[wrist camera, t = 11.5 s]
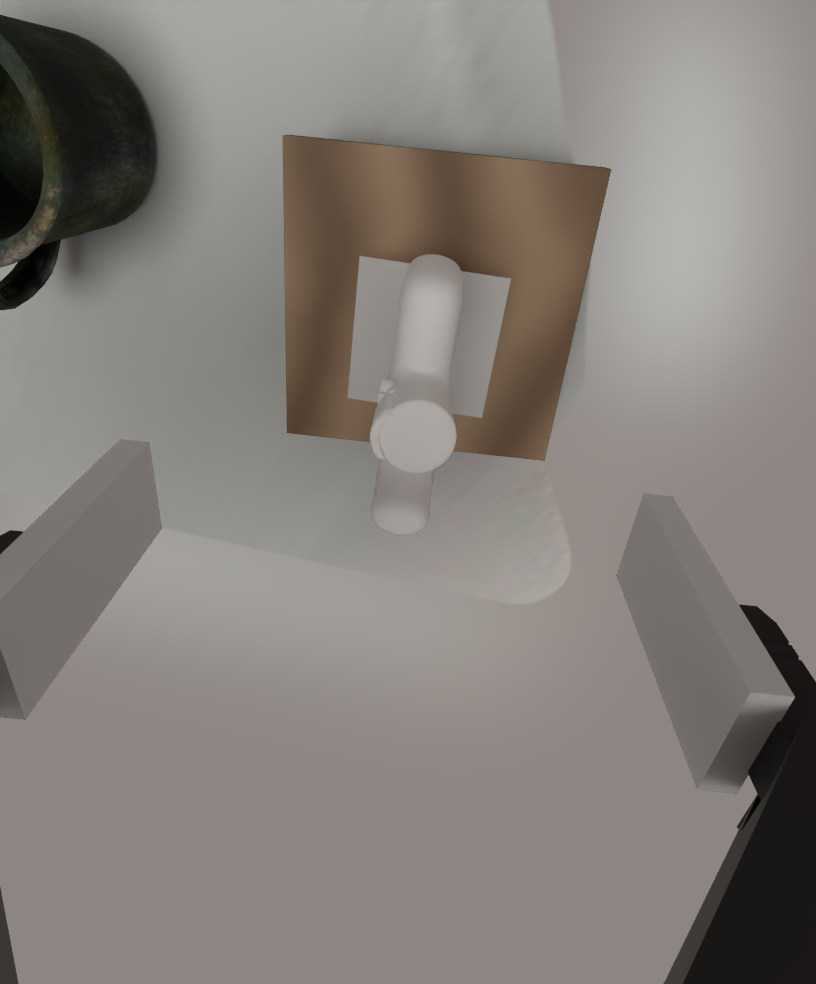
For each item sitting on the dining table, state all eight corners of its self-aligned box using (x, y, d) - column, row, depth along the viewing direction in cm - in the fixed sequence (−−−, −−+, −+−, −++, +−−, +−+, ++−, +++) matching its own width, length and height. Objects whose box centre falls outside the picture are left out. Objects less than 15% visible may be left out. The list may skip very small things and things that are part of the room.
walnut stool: (312, 386, 45) (287, 432, 38) (314, 133, 37) (282, 135, 30) (530, 409, 45) (544, 460, 38) (581, 161, 37) (611, 169, 30)
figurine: (510, 241, 32) (549, 319, 19) (475, 409, 36) (487, 563, 24) (370, 220, 32) (313, 284, 19) (355, 391, 36) (300, 536, 23)
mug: (176, 63, 35) (63, 36, 25) (150, 305, 43) (53, 361, 32) (-16, -11, 34) (-219, -71, 24) (-10, 251, 41) (-163, 292, 31)
